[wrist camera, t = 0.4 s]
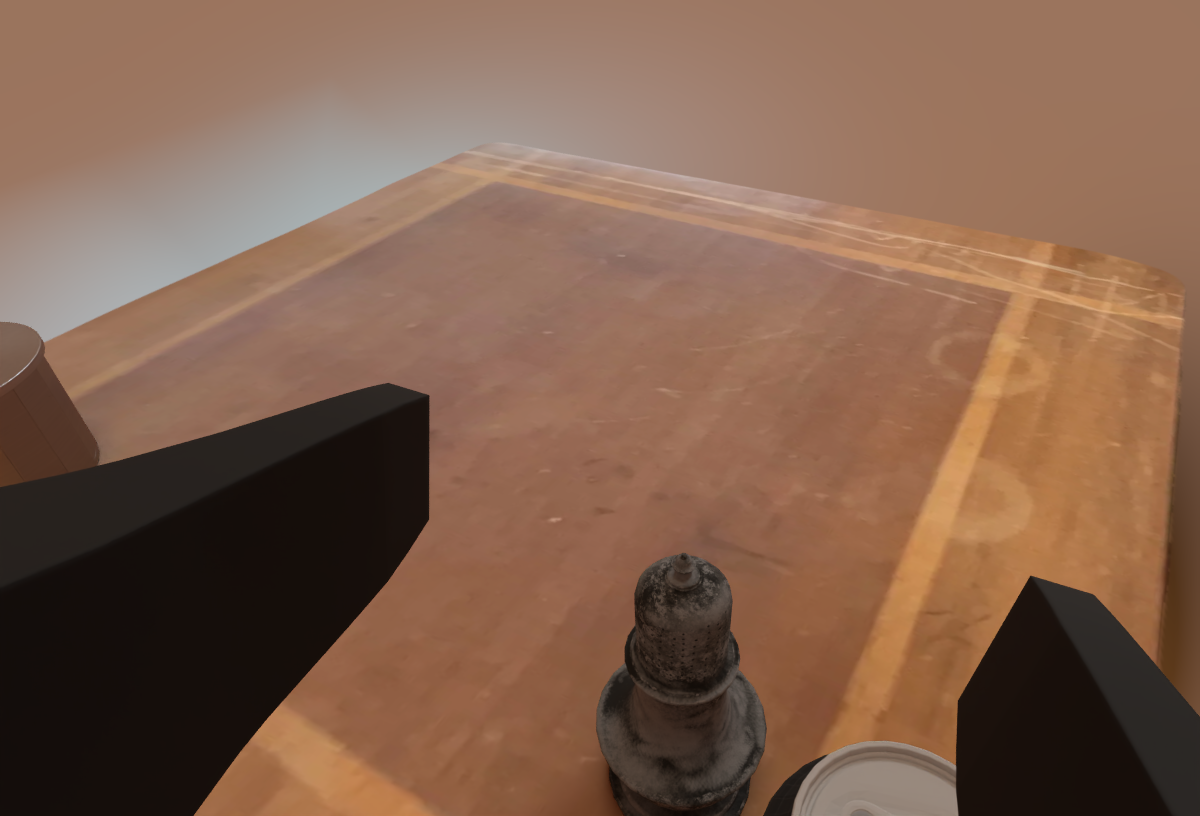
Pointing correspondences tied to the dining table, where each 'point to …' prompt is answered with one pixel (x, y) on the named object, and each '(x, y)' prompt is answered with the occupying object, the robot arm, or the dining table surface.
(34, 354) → the pot lid
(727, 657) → the chess piece
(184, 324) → the dining table surface
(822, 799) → the beverage can
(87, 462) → the pot
